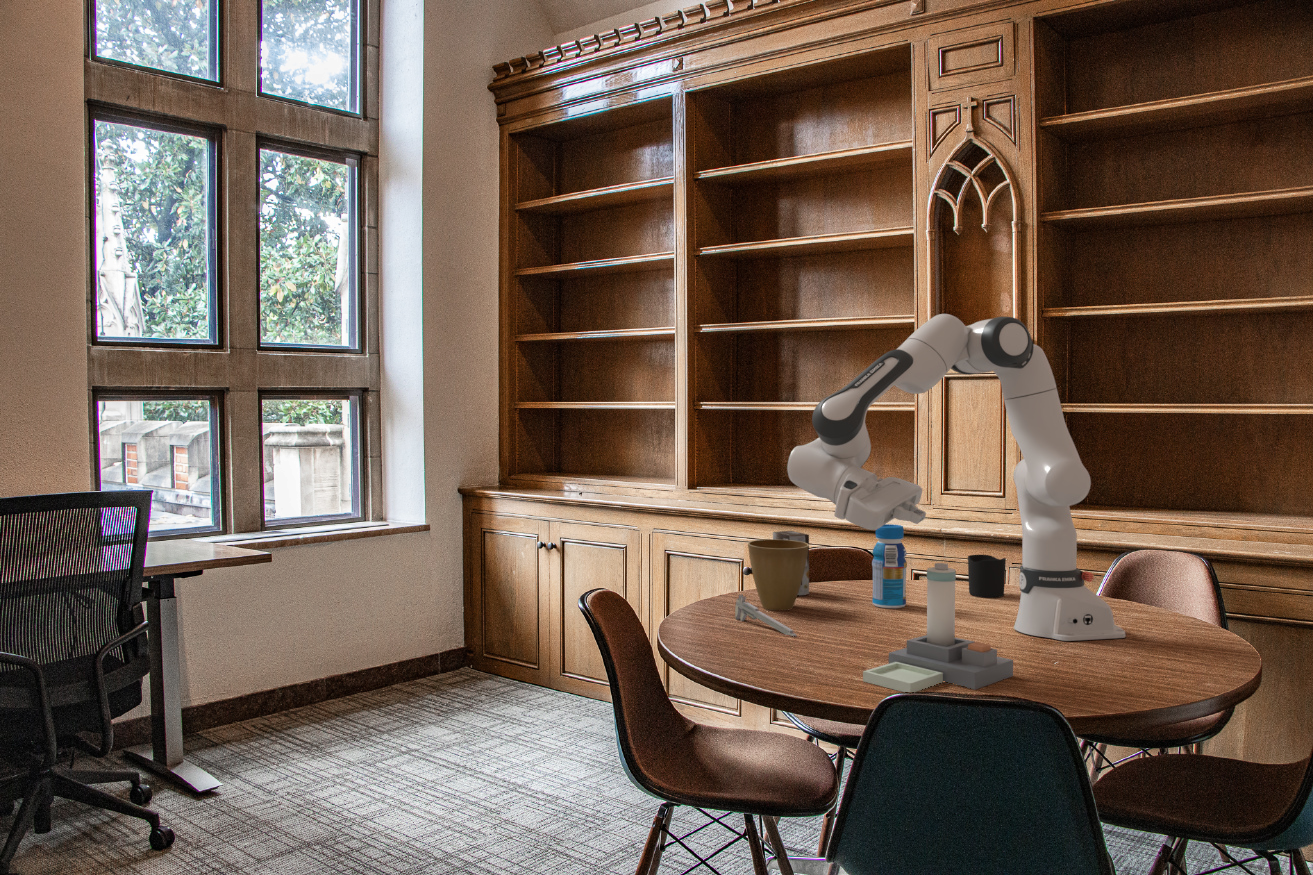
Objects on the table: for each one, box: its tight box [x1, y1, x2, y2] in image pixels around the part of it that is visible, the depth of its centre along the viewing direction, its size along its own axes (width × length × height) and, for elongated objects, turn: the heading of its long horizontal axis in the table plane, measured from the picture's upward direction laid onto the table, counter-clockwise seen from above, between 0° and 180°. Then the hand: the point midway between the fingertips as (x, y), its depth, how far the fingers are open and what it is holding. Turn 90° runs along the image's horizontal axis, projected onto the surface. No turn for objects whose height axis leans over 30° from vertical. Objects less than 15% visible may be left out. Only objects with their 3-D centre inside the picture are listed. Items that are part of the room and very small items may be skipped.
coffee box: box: [772, 530, 810, 596], centre depth 254 cm, size 9×6×16 cm
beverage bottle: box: [871, 523, 908, 609], centre depth 237 cm, size 8×8×20 cm
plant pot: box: [747, 538, 810, 611], centre depth 235 cm, size 15×15×16 cm
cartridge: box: [926, 562, 957, 647], centre depth 179 cm, size 5×5×17 cm
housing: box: [888, 634, 1014, 691], centre depth 177 cm, size 13×18×6 cm
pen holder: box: [967, 554, 1007, 599], centre depth 251 cm, size 9×9×10 cm
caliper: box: [734, 594, 798, 638], centre depth 214 cm, size 20×1×6 cm, turn 33°
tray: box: [862, 662, 944, 693], centre depth 171 cm, size 10×10×2 cm
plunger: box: [968, 641, 992, 652], centre depth 173 cm, size 3×3×3 cm
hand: (922, 518), depth 182 cm, fingers closed
